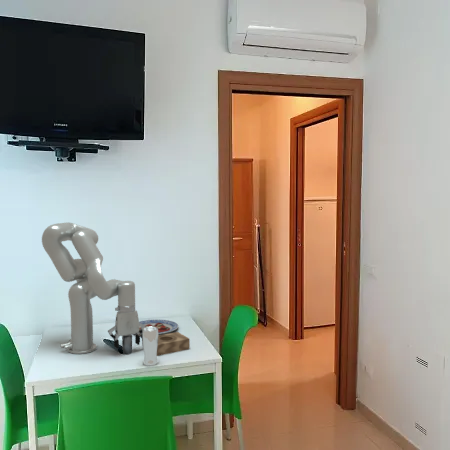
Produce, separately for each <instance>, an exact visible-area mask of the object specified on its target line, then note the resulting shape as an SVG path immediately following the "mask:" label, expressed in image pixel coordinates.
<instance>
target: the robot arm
mask: <svg viewBox="0 0 450 450" xmlns="http://www.w3.org/2000/svg"><path fill="white" fill-rule="evenodd" d="M66 241H70V242H71V243H72V245H73V247H74V249H75V251H76V252H77V255H79V257H80V258H75V259H74V258H73V256H72V255H71V253H70V251H69V249H68V248H67V247H66V246H65V245H64V244H63V242H66ZM98 243H99V235H98V233H97V232H96V231H95V230H93V229H92V228H88V227H86V226H83V225H79V224H76V223H73V222H61V223H53V224H50V225H49V226H47V227H46V228H45V229H44V230H43V233H42V235H41V244H42V247H43V249H44V251H45V252H46V254H47V255H48V258H50V260H51V262H52V264H53V266H54V267H55V269H56V271H57V273H58V274H59V276H60V278H61V279H62V280H63V281H64V282H67V283H71V282H74V281H76V282H75V283H73V284H72V285H71V286H70V287H69V289H68V292H67V293H68V294H67V295H68V296H67V297H68V300H69V308H70V335H71V336H70V339H69V341H68V342H64V343H60V349H65V350H66V349H67V352H68V353H71V354H75V355H80V354H83V355H84V354H88V353H93V352H94V351H95V350H97V347H98V346H97V344H95V343H94V323H93V322H94V319H93V317H94V315H93V307H92V306H93V305H92V303H91V300H92V299H94V298H96V297H97V298H98V299H100V300H102V301H107V300H110V299H111V298H113V297H117V307H114V310H115V311H117V312H116V314H115V321H114V322H115V323H114V326H112V327H111V328H109V329H108V330H107V333H108V335H109V337H110V338H112V339H113V347H114V348H115V349H117V350H119V349H120V348H119V347H120V344H119V343H120V340H119V338H120V336H121V337H122V336H124V335H130V334H131V335H134V334H135V337H134V338H135V339H134V341H135V344H136V345H137V346H140V342H141V337H142V329H143V328H144V327H145V325H144V324H141V323H139V322H140V320H139V314H138V311H137V310H136V284H135V282H134V281H131V280H120V279H115V278H114V279H109V280H106V278H105V277H104V275H103V272H102V263H103V261H104V256H103V255H102V253H101V251H100V249H99V247H98V246H97V244H98ZM139 326H141V329H140V330H139ZM113 332H115V334H114V333H113Z"/></svg>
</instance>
